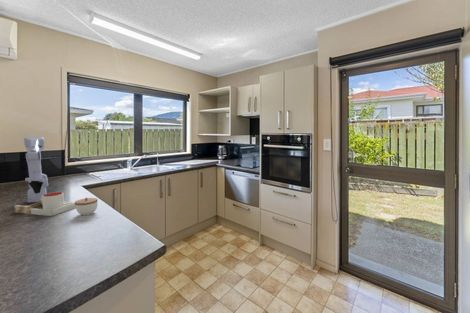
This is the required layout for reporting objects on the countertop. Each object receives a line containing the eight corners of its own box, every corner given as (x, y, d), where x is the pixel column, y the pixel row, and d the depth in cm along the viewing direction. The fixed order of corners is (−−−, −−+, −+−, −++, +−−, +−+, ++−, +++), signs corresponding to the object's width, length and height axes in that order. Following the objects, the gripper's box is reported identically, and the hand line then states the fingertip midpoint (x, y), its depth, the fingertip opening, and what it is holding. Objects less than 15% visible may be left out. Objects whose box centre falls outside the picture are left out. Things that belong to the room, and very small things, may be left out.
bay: (14, 212, 129) (13, 205, 128) (42, 204, 143) (41, 198, 143) (29, 213, 126) (28, 207, 126) (55, 205, 141) (55, 199, 140)
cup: (47, 214, 124) (45, 197, 123) (40, 211, 130) (39, 195, 129) (68, 209, 133) (66, 193, 132) (60, 206, 138) (59, 191, 137)
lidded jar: (83, 210, 131) (82, 195, 130) (102, 210, 131) (101, 194, 130) (71, 217, 120) (69, 200, 119) (91, 216, 121) (90, 200, 120)
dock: (31, 214, 126) (30, 208, 125) (57, 205, 140) (57, 201, 140) (51, 215, 122) (51, 210, 122) (76, 207, 137) (76, 202, 136)
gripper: (18, 172, 130) (20, 194, 132) (37, 172, 127) (39, 195, 129) (31, 170, 137) (33, 191, 139) (49, 170, 134) (51, 192, 136)
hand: (37, 193), depth 134 cm, fingers closed
